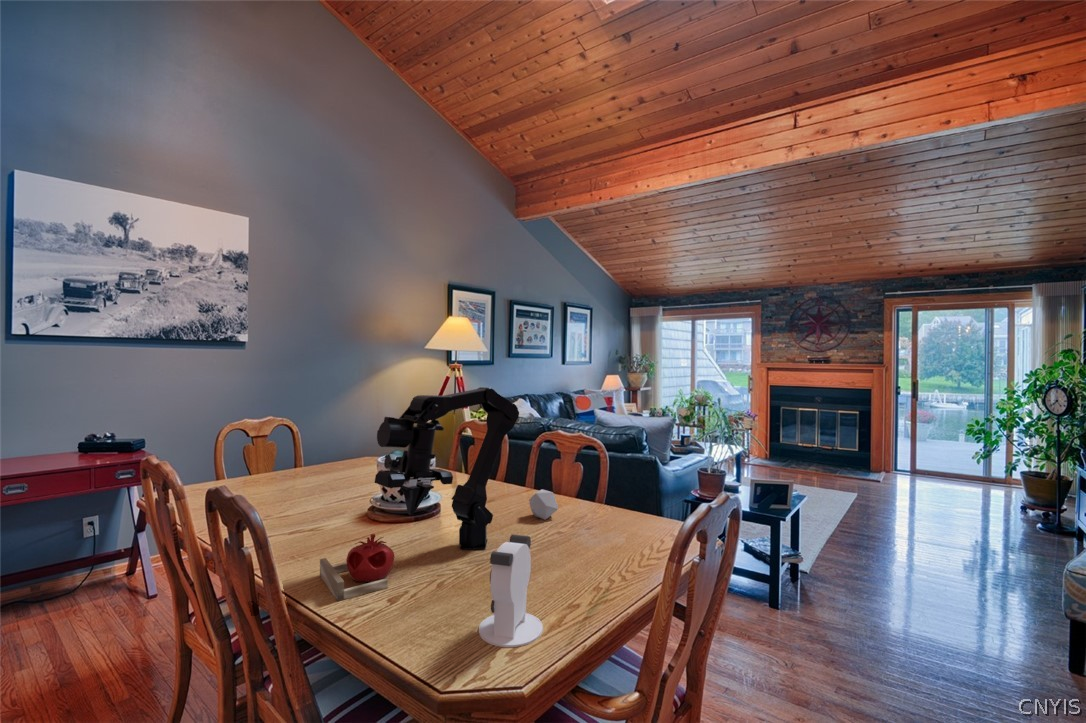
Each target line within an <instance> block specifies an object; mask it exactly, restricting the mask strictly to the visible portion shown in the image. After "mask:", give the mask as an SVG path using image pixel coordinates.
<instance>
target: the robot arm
mask: <svg viewBox="0 0 1086 723" xmlns="http://www.w3.org/2000/svg"><path fill="white" fill-rule="evenodd" d="M478 405H480V406H481V409H482V411H484V412H485V413H486V414H487V416H486V418H485V419H486V421H485V422H486V429H487V430H486V432H485V435H484V438H483V440H482V443H481V446H480V449H479V451H478V454H477V455H476V459H475V460H474V461H475V462H474V464H473V466H472V470H471V472H470V475H469V477H468V479H467V481H466V482H465V483H464V484H463V485H462V484H457V486H456V488H455V492H454V494H453V496H452V497H451V501H452V503H451V508H452V512H453V513H454V514H455V516H456V519H457V521H461V525H460V526H459V530H458V531H459V532H458V535H459V536H458V537H459V539H458V544H459V549H460V550H485V549H487V544H488V537H487V535H488V534H487V533H488V532H487V531H488V530H487V528H488V527H487V526H488V525H489V524H491V523H492V522H493V518H494V514H493V513H492V512H491V511H490V510H489V509H488V508H487V507H486V504H487V502H488V501H487V500H488V495H487V489H486V487H487V484H488V482H489V479H490V477H491V473H492V471H493V468H494V466H495V462H496V460H497V457H498V454H499V452H500V450H501V446H502V444H503V441H504V439H505V437H506V435H508V433H510V432H511V431H512V430H513V429H514V427H515V425H516V424H517V421H518V419H519V417H520V411H519V408H518V406H517V405H516V404H515V403H514V402H511V401H510V400H508V399H507V398H506V397H504V396H502V395H501V394H499V393H498V392H497V391H496V390H495V389H493V388H492V387H483V386H482V387H478V388H475V389H470V390H465V391H461V392H455V393H451V394H450V393H449V394H446V395H434V394H433V395H431V394H430V395H429V394H427V395H422V394H420V395H416V396H414V397H413V398H412V399H411V401H410V403H409V406H408V407H407V409H405V411H404V412H403V413H402V414H401V415H400V416H399V417H398V418H396V417H393V416H384V418H383V421H382V423H381V424H380V425H379V427H378V430H377V432H376V440H377V444H378V446H379V447H381V448H398V449H400V448H402V449H403V448H404V450H403V452H402V456H400V457H398V456H397V455H396V454H395V453H393V454H391V453H390V454H388V453H387V454H386V455H385V458H384V463H383V464H384V468H385V469H388V470H378V471H377V473H376V474H375V478H374V484H377V485H380V486H382V487H385V488H389V489H395V488H400V489H401V491H402V493H403V498H404V501H405V506H406V512H407V515H409V516H412V515H415V512H416V511H417V509H418V508H419V506H420V504H421V503H422V502H423V500H424V499H425V497H426V496H427V494H428V493H429V492H430V491H431V490H432V489H435V488H434V487H435V486H434V485H432V484H431V483H432V482H433V481H440V483H441V484H442V485H453V479H454V475H453V473H452V471H449V470H445V469H443V468H431V463H432V459H433V460H434V459H436V454H435V453H433V450H434V449H433V448H434V442H435V435H436V431H440V432H441V431H444V427H443V426H442V425H441V423H440V422H439V420H438V419H440V418H442V417H443V418H444V416H446V415H447V414H448V413H450V412H452V411H455V410H459V409H463V408H468V407H473V406H478ZM415 424H416V425H415ZM405 448H407V450H406V449H405ZM389 469H390V470H389Z"/></svg>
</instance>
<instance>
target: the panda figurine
mask: <svg viewBox="0 0 1086 723" xmlns="http://www.w3.org/2000/svg"><path fill="white" fill-rule="evenodd" d="M531 545H532V541H531V536H530V535H522V534H521V535H520V534H510V536H509V541H505V542H504V543H503V542H502V544H500V546H499V547H498V548H497V550H496V551H494V550H493V551H492V552H491V554H490V557H489V563H490V564H491V568H490V573H489V584H490V593H491V594H490V595H491V598H492V600H491V604H490V612H491V613H493V614H491V615H489V616H488V617H486V618H484V620H483V621H481V622H480V624H479V627H478V633H479V634H478V635H479V637H480V638H481V639H482V640H483V641H485V643H487V644H489V645H493V646H496V647H499V648H500V647H501V648H517V647H523V646H526V645H529V644H532V643H534V642H535V641H537V640H538V639H539V638H540V637H541V635H542V633H543V631H544V625H543V622H542V621H541V620H540V619H539V618H538V617H536V615H533V614H531V613H528V612H527V595H528V594H527V592H528V590H527V589H528V586H529V582H530V577H531V569H532V558H531V556H532V555H531V550H530V549H531Z"/></svg>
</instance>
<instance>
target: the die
mask: <svg viewBox="0 0 1086 723" xmlns="http://www.w3.org/2000/svg"><path fill="white" fill-rule="evenodd" d="M528 501H529V502H528V503H529V506H530V511H531V513H532V514H533V516H534V517H536V518H538V519H541V520H544V521H546V520H547V519H548V518H550V517H551V516H552V515H553V514H554V513H556V512H557V511H558V510H559V506H558V503H557V500H556V496H555V494H554V492H553V491H549V490H546V489H540V490H538V491H537V492H535V493H534V494H533V495H532V496H531V497H530V498H529V499H528Z"/></svg>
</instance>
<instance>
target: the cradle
mask: <svg viewBox="0 0 1086 723" xmlns="http://www.w3.org/2000/svg"><path fill="white" fill-rule="evenodd" d="M347 571H348V568H347V562H342V563H338V564H334V565H333V564H331V563H330V561H329V560H328V558H326V557H325V558H320V559H319V576H320V578H321V580H322V581H323V582H324V584H325V586H327V588H328V589H329V591H330V592H331V594H332V595H333V597H334V598H335V599H336V601H337V602H340V601H344V600H347V599H351V598H355V597H358V596H362V595H366V594H369V593H373V592H378V591H381V590H384V589H387V588H388V587H389V586H388V584H389V583H388V582H389V580H388V579H387V578H382V579H379V580H377V581H372V582H371V581H370V582H368V583H363V584H360V585H355V586H351V587H348V588H345V581H344V579H343V578H342V577H341V576H340V573H343V572H347ZM348 572H349V571H348Z"/></svg>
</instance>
